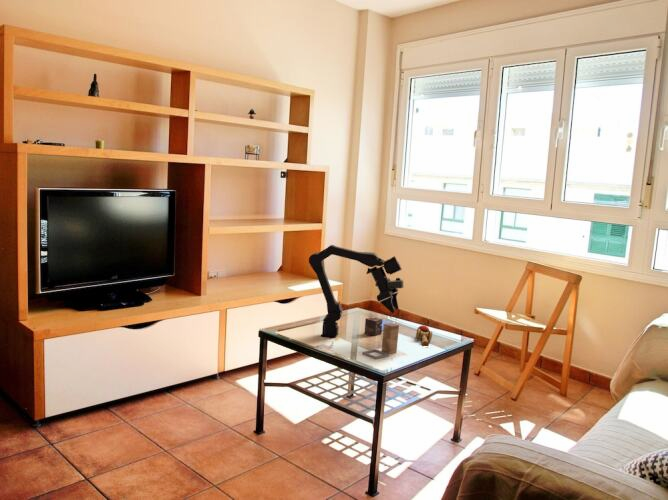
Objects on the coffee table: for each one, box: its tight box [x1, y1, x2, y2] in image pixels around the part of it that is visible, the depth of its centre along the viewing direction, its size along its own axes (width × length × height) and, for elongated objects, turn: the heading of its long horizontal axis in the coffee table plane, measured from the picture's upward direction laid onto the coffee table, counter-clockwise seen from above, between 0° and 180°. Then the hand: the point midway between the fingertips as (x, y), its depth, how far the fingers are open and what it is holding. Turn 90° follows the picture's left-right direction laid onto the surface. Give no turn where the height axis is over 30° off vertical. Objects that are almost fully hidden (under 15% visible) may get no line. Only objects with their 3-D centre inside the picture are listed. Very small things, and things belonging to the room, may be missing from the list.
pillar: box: [381, 323, 400, 355], centre depth 240 cm, size 4×4×12 cm
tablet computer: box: [382, 320, 396, 333], centre depth 286 cm, size 19×13×1 cm, turn 170°
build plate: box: [355, 347, 408, 363], centre depth 238 cm, size 12×19×2 cm, turn 132°
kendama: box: [415, 324, 433, 347], centre depth 264 cm, size 8×6×18 cm
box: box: [364, 316, 384, 337], centre depth 271 cm, size 6×6×7 cm
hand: (395, 311), depth 255 cm, fingers open, 9 cm apart
